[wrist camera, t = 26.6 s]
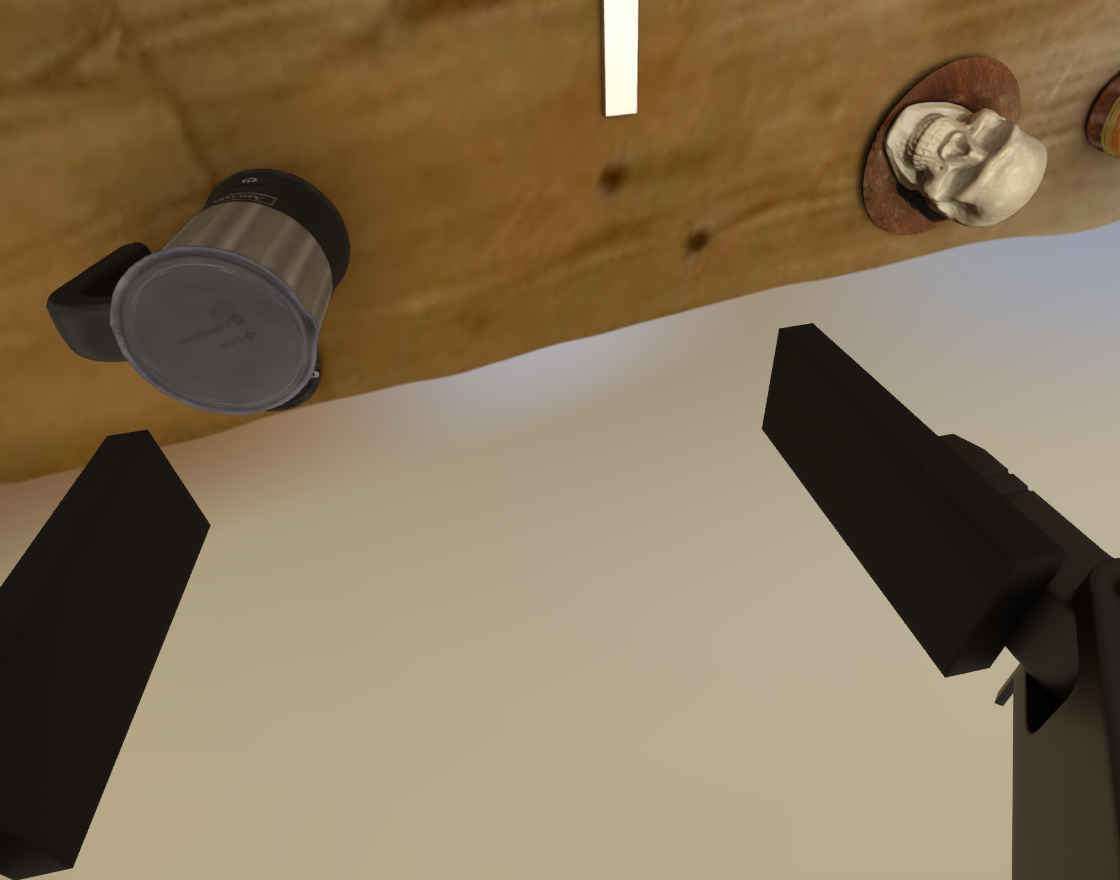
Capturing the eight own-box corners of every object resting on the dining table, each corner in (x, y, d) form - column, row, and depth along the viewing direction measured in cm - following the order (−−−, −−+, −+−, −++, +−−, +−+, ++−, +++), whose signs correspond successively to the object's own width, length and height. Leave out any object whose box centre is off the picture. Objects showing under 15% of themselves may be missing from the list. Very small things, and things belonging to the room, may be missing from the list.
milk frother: (303, 143, 37) (239, 214, 26) (419, 346, 47) (411, 465, 35) (107, 228, 38) (-38, 332, 27) (260, 409, 48) (202, 543, 37)
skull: (823, 201, 44) (970, 129, 35) (850, 88, 46) (997, -9, 37) (919, 276, 49) (1071, 231, 39) (940, 171, 51) (1090, 104, 41)
